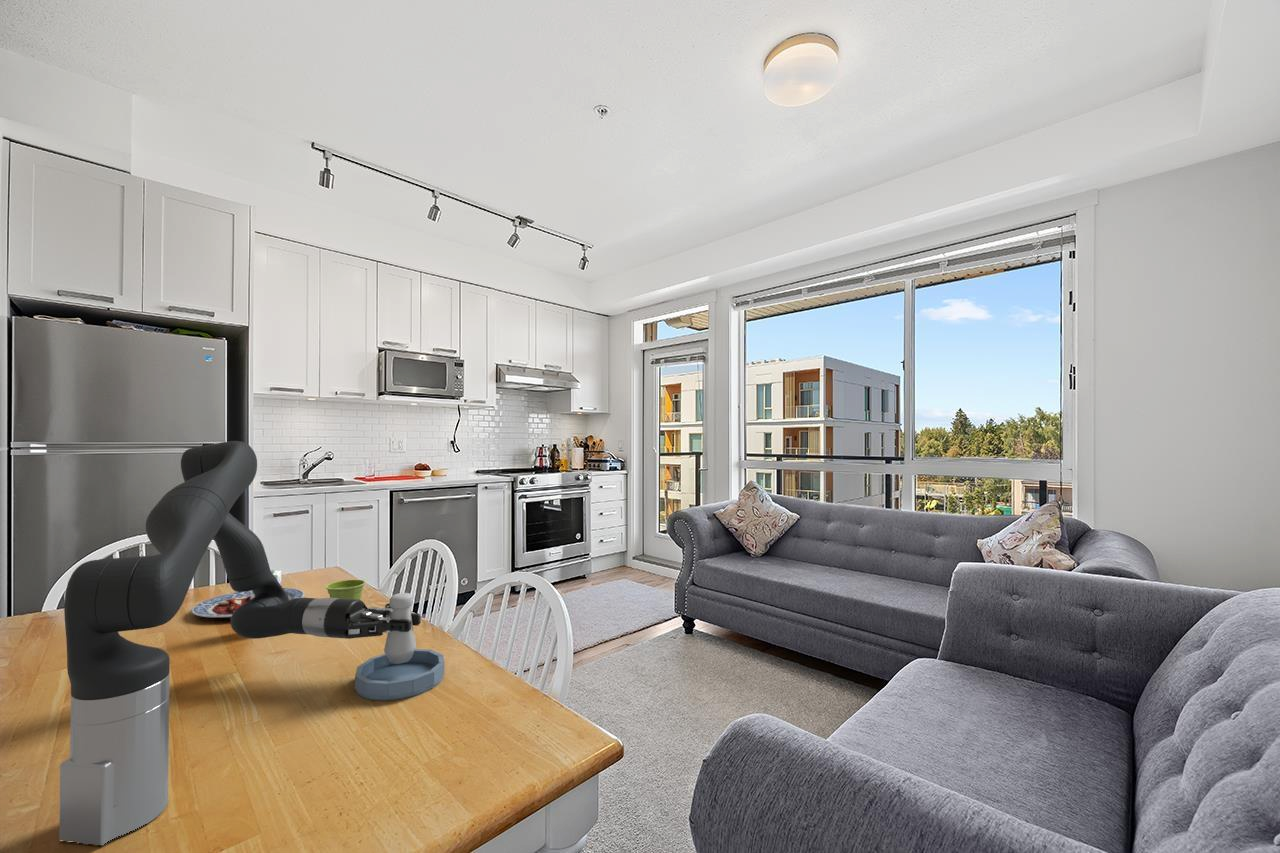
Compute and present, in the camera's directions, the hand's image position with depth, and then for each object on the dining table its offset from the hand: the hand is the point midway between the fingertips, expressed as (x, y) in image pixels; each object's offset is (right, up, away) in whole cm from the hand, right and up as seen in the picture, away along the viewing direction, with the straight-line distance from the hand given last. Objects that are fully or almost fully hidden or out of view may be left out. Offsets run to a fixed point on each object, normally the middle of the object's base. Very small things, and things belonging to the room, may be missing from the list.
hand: (414, 622), depth 109 cm
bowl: (-3, -12, 0) cm, 12 cm away
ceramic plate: (-65, -12, +45) cm, 80 cm away
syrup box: (-48, -12, +27) cm, 56 cm away
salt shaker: (-3, -8, 0) cm, 8 cm away
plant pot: (-34, -12, +38) cm, 53 cm away
